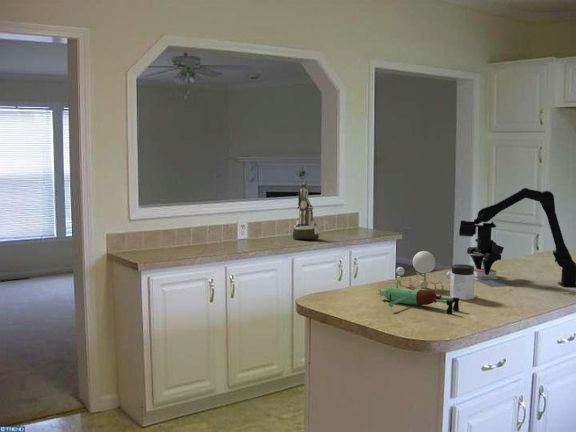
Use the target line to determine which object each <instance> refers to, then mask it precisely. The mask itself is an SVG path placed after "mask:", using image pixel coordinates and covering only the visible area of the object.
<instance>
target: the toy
mask: <svg viewBox="0 0 576 432" xmlns="http://www.w3.org/2000/svg"><path fill="white" fill-rule="evenodd" d="M377 291H378V293H377V296H378V297H379V298H382V297H384V298H385V299H386V300H388V301H387V302H388V306H389V307H390V308H392V307H394V305H395V304H404V305H417V306H427V305H431V304H433V303H435V304H436V303H440V304H446V306H448V307H447V309H446V310H445V311H446V313H447V314H448V315H452V314H453V312H459V311H460V307H459V303H460V302H459V301H460V299H459V298H455V297H453V298H452V297H442V295H437V293H436V291H433V290H431V289H428V288H424V289H418V290H414V289H413V290H410V289H403V288H399V287H398V288H396V287H393V286H392V287H390V286H389V287H386V288H385V289H383V288H382V287H379V289H378V290H377Z"/></svg>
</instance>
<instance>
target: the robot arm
mask: <svg viewBox="0 0 576 432" xmlns="http://www.w3.org/2000/svg"><path fill="white" fill-rule="evenodd" d="M525 199H529V200H533V201H536V202H539V203H540V205H541V207H542V209H543V211H544V213H545V215H546V217H547V221H548V225H549V227H550V231H551V235H552V239H553V242H554V245H555V250H552V254H553V257H554V262H555V263H556V264H557V265H558V266H559V267H561V268H562V269H561V278H560V282H559V281H558V282H557V284H558V285H560V286H562V287H565V288H566V287H567V288H575V287H576V262H575V261H574V260H573V257H572V255H571V253H570V251H569V249H568V247H567V245H566V242H565V240H564V236H563V234H562V230H561V227H560V224H559V220H558V216H557V212H556V205H555V195H554V193H552V191H549V190H543V191H540V190H534V189H531V188H528V187H523V188H521V190H519V191H517V192H514V193H513V194H511V195H510V196H508V197H506V198H504V199H502V200H500V201H499V202H497V203H495V204H494V203H493V204H492V205H488V206H485V207H483V208H480V210H479V211H478V212H477V217H476V218H475V219H474V220H473V221H472V220H471V221H469V220H460V223H459V232H458V233H459V237H469V238H470V237H471V238H473V237H474V235H476V237H477V238H475V240H474V241H475V242H476V246H469V247H468V248H467V249H466V254H468V255H469V256H470V258H471V260H472V261H473V264H474V265H475V266H474V267H475V269H482V267H483V269H484V271H485V274H486V275H488V274H489V271H490V269H492V266H493V264H494V263H495V262H497V261H502V254H503V251H504V249H505V247H504V246H501V245H499V244H497V242H495V241H494V240H493V239H492V233H493V232H492V231H493V230H492V228H497V225H496V223H494V221H491V220H492V219H493V218H494V217H496V216H497V215H498V214H500V213H501V212H502V211H505V210H506V209H508V208H510V207H512V206H513V205H515V204H517V203H518V202H520V201H522V200H525ZM489 221H491V222H490V223H489ZM481 223H482V224H481Z"/></svg>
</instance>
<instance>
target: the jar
mask: <svg viewBox="0 0 576 432" xmlns="http://www.w3.org/2000/svg"><path fill="white" fill-rule="evenodd" d="M474 269H475V266H474V265H471V264H464V263H463V264H462V263H459V264H452V265H451V271H452V272H451V280H450V279H449V280H450V284H449V291H450V292H449V296H450V298H453V297H455V298H459V301H460V300H461V301H467V300H473V299H474V298H475V281H476V280H475V274H474Z"/></svg>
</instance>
